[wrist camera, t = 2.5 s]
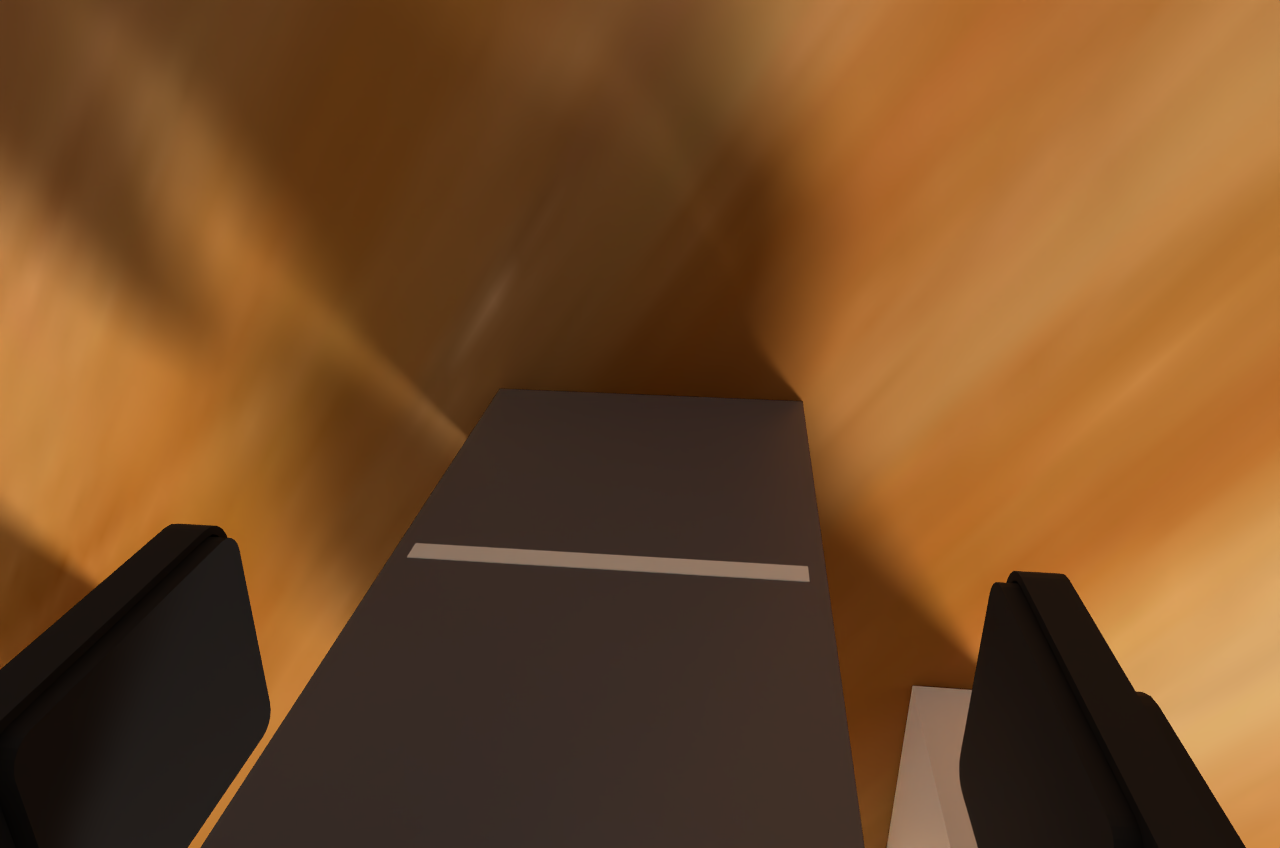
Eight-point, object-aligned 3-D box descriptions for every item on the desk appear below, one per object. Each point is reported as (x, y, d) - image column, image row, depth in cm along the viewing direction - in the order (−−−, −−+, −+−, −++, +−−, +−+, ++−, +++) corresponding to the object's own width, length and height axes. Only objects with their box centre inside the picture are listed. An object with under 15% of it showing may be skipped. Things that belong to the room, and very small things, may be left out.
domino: (499, 388, 15) (136, 944, 6) (802, 400, 15) (890, 1025, 6) (505, 474, 16) (186, 1090, 7) (795, 489, 15) (862, 1173, 6)
